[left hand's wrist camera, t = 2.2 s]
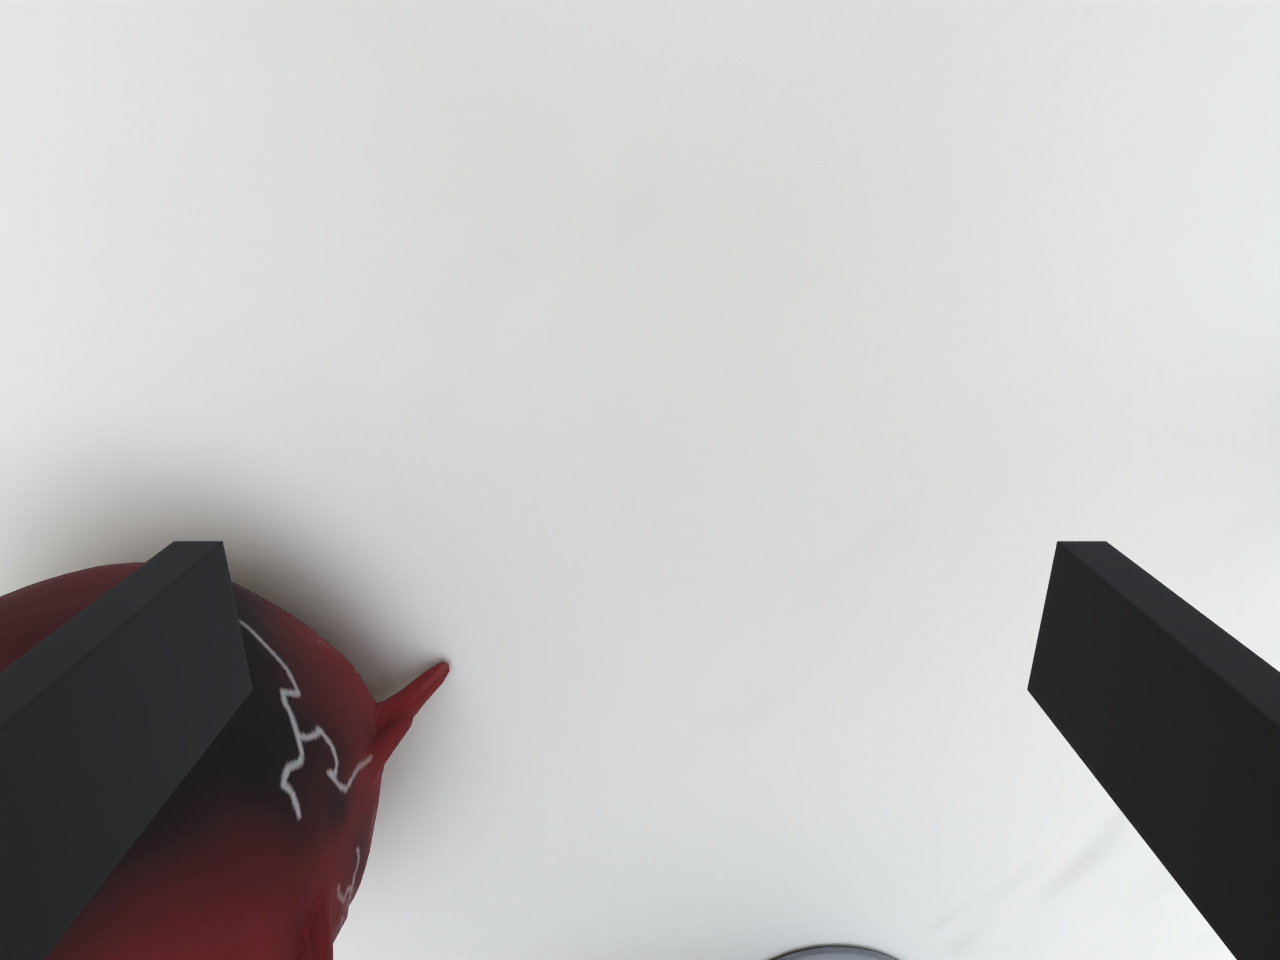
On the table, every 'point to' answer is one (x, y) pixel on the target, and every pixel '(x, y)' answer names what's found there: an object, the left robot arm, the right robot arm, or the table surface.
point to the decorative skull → (242, 797)
